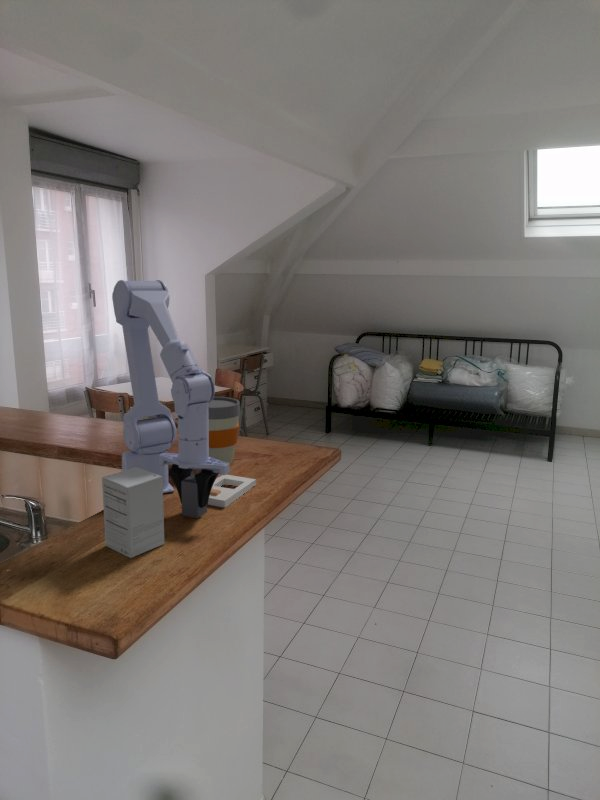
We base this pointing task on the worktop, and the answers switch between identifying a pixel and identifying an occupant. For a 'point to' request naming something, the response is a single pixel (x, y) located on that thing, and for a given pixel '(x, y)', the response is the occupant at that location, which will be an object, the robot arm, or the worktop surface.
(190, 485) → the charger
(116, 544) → the supplement box
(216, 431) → the reusable coffee cup
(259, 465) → the worktop surface
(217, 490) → the white board with cutouts
